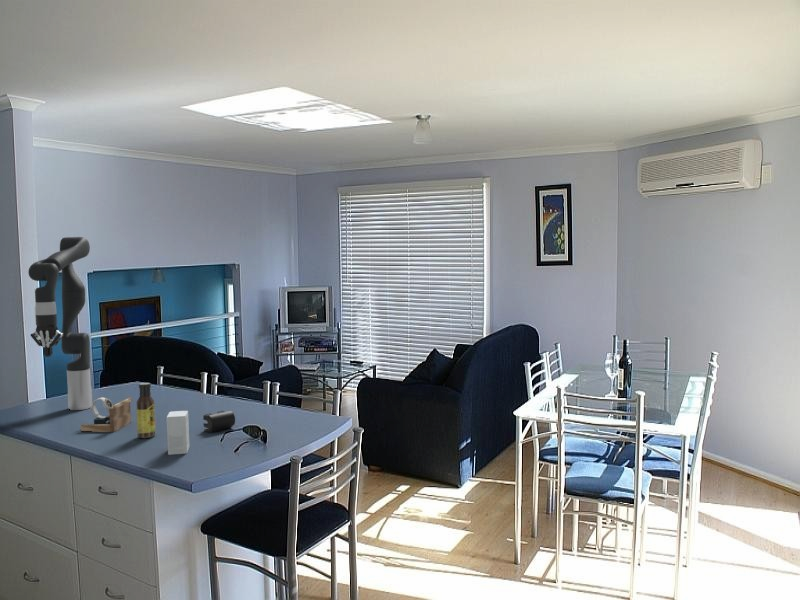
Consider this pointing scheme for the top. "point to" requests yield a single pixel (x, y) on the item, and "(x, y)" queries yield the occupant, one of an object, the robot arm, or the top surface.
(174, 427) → the small box
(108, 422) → the watch
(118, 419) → the display stand
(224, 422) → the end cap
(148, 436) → the sauce bottle
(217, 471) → the top surface
